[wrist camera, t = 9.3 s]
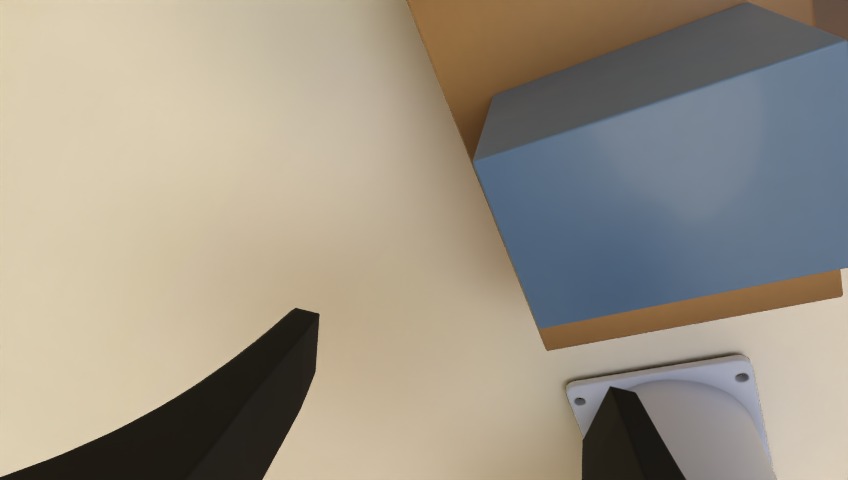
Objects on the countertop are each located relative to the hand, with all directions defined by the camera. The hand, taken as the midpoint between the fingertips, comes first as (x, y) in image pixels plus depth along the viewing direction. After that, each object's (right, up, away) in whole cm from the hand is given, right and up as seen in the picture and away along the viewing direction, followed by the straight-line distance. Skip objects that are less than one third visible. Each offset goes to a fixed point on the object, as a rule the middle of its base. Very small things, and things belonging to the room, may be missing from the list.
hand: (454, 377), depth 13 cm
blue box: (+5, +6, +2) cm, 8 cm away
